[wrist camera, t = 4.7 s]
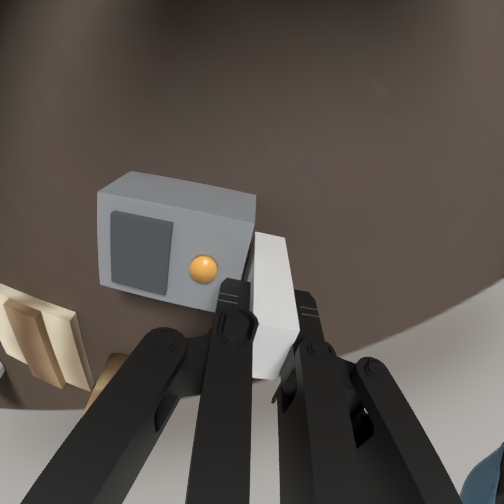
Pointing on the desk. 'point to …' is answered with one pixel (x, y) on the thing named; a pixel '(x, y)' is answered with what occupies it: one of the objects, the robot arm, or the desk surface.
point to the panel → (44, 339)
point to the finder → (172, 238)
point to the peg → (106, 375)
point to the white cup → (1, 369)
